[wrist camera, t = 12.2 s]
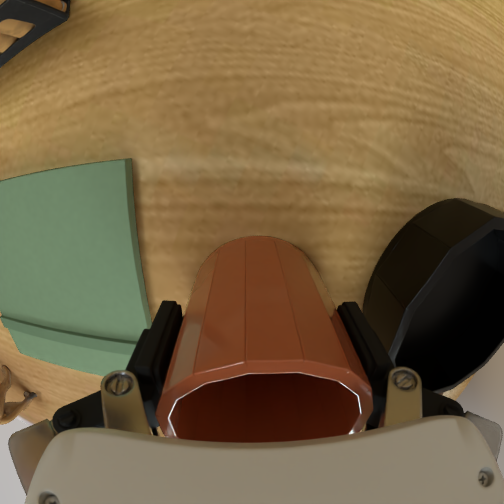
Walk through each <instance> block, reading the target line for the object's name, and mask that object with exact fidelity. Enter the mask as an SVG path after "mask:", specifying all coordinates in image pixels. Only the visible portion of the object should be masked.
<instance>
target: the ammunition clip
mask: <svg viewBox="0 0 504 504" xmlns="http://www.w3.org/2000/svg"><path fill="white" fill-rule="evenodd" d="M69 8H70V0H0V68H1V67H2V66H3V65H4V64H5V63H6V62H8V61H9V60H10V59H11V58H13V57H14V56H15V55H16V54H18V53H19V52H20V51H21V50H23V49H24V48H25V47H27V46H28V45H30V44H31V43H32V42H34V41H35V40H37V39H38V38H39V37H41V36H42V35H44V34H45V33H47V32H49V31H50V30H52V29H53V28H55V27H56V26H58V25H60V24H61V23H63V22H65V21H67V19H68V17H69Z"/></svg>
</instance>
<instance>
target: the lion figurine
mask: <svg viewBox="0 0 504 504" xmlns="http://www.w3.org/2000/svg"><path fill="white" fill-rule="evenodd" d="M2 372H3V373H4V374H5V378H4V381H3V382H2V383H1V384H0V425H3V424H7V423H9V422H11V421H12V420H14V419H15V418H16V417H17V416H18V415H19V414H20V412H21V411H22V410H25V409H26V408H27V407H28V406H29V404H30V403H31V402H32V400H33V398H34V397H37V394H35V393H34V392H32V393H30V394H29V393H28V392H26V391H25V392H24V397H25V399H24V400H23V401H22V402H6V403H5V396H6V392H7V390H8V389H9V388H10V387H11V377H10V371H9V370H8V369H7V368H6V367H5V366H2Z"/></svg>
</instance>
